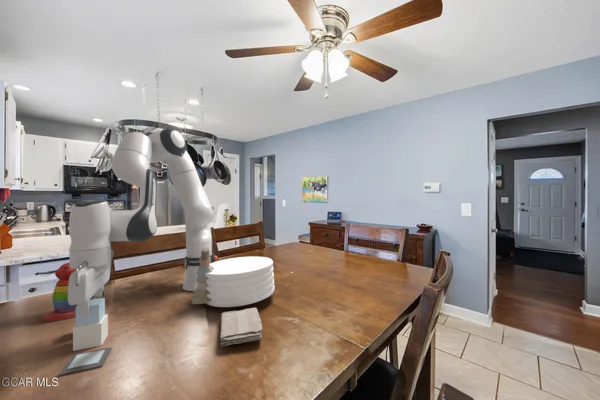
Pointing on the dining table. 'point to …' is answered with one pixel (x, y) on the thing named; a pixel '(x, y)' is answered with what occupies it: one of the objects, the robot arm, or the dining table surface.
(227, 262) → the plate stack
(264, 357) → the dining table surface
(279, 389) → the dining table surface
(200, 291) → the figurine
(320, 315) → the dining table surface
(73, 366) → the tile
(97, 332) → the cream block
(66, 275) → the stacking bear
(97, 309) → the pale blue block
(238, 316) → the washcloth
